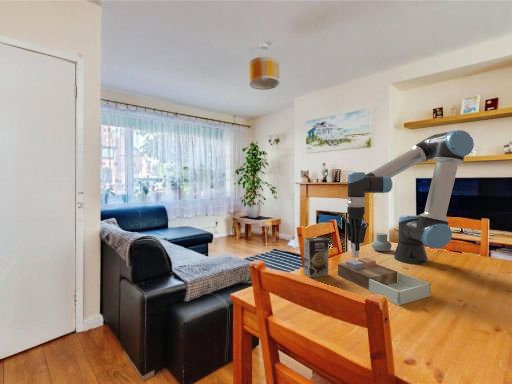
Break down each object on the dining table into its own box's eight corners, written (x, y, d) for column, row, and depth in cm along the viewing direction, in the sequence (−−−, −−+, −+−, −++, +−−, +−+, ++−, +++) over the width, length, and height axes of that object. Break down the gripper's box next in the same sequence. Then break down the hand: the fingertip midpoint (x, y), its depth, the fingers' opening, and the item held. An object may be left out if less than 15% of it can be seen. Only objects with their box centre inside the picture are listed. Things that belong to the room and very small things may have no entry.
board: (363, 270, 127) (363, 259, 127) (397, 283, 110) (397, 271, 110) (337, 275, 121) (337, 264, 120) (370, 290, 104) (370, 277, 104)
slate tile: (354, 264, 120) (355, 259, 120) (363, 267, 115) (363, 263, 115) (346, 265, 118) (346, 261, 118) (354, 269, 113) (354, 264, 113)
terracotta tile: (366, 262, 123) (366, 257, 123) (375, 265, 118) (375, 260, 118) (358, 263, 121) (358, 259, 121) (367, 266, 116) (367, 262, 116)
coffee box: (310, 278, 118) (310, 241, 117) (303, 272, 124) (303, 237, 123) (328, 275, 120) (329, 239, 119) (321, 270, 126) (321, 236, 125)
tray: (398, 283, 111) (399, 272, 110) (430, 296, 99) (430, 283, 99) (368, 290, 104) (368, 279, 104) (398, 305, 92) (399, 292, 92)
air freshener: (378, 247, 166) (379, 231, 166) (392, 250, 160) (393, 233, 159) (369, 250, 159) (370, 233, 159) (384, 253, 153) (384, 236, 152)
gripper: (339, 205, 129) (339, 254, 130) (360, 208, 117) (359, 262, 118) (351, 204, 132) (351, 252, 133) (373, 207, 120) (372, 259, 121)
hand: (355, 257), depth 126 cm, fingers closed
